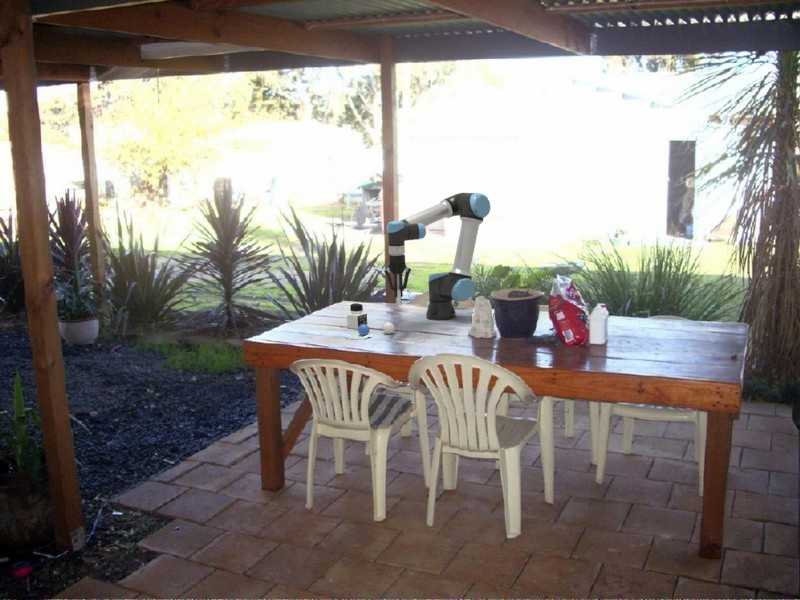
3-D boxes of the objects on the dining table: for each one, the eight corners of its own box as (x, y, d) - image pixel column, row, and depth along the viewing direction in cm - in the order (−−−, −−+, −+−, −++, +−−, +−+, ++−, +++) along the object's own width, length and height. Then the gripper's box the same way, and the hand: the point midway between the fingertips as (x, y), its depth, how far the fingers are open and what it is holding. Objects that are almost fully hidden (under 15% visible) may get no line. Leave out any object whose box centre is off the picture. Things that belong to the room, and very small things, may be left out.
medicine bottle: (358, 329, 397) (357, 305, 395) (347, 328, 402) (346, 304, 400) (367, 326, 403) (366, 303, 401) (356, 325, 407) (355, 301, 405)
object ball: (362, 320, 386) (354, 329, 385) (364, 323, 380) (356, 331, 380) (370, 328, 387) (362, 336, 387) (372, 330, 382) (364, 339, 382)
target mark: (370, 331, 392) (370, 331, 392) (376, 338, 378) (376, 337, 378) (341, 334, 389) (341, 334, 389) (346, 340, 375) (346, 340, 375)
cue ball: (382, 320, 387) (380, 331, 388) (386, 322, 382) (383, 334, 383) (393, 322, 389) (391, 333, 390) (397, 324, 384) (394, 336, 385)
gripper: (385, 256, 376) (387, 306, 380) (412, 254, 379) (414, 304, 383) (381, 254, 383) (383, 303, 388) (408, 252, 386) (410, 301, 390)
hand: (398, 303), depth 385 cm, fingers closed
